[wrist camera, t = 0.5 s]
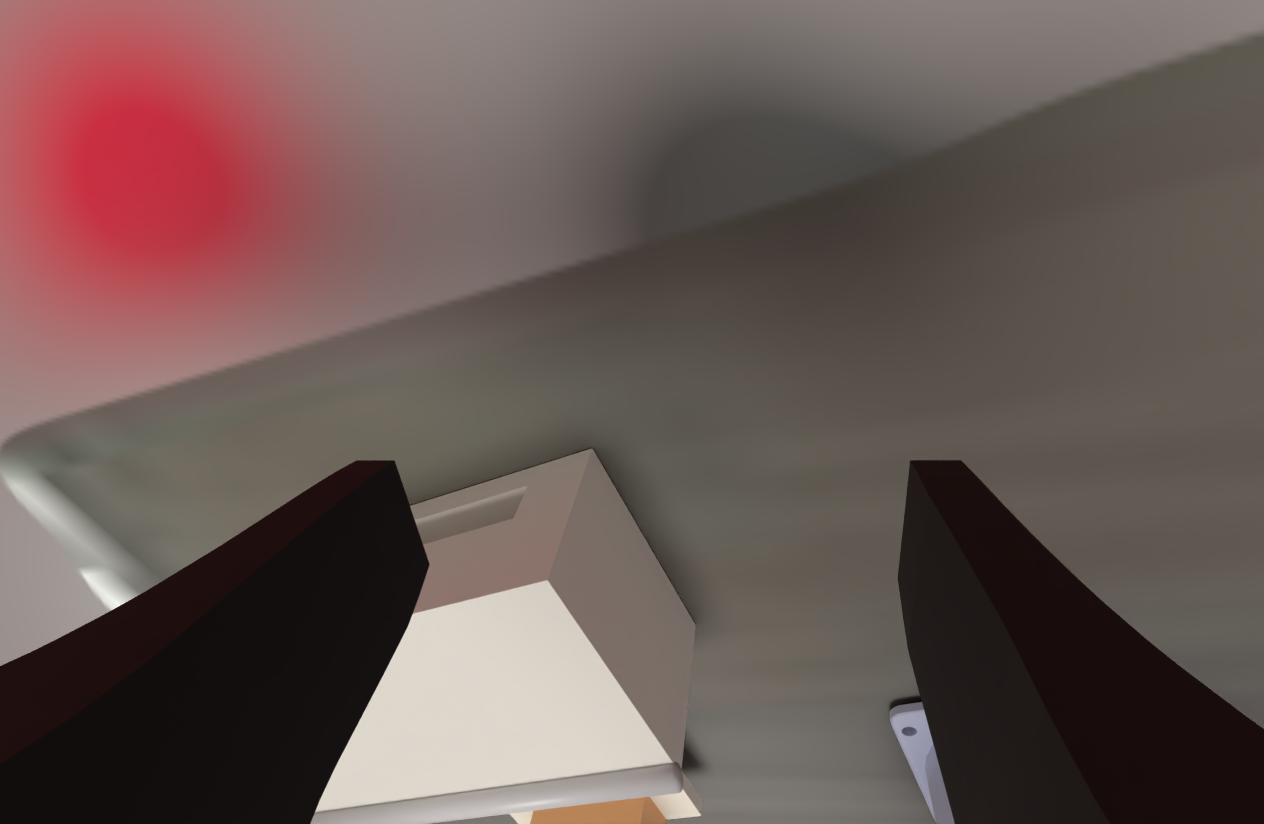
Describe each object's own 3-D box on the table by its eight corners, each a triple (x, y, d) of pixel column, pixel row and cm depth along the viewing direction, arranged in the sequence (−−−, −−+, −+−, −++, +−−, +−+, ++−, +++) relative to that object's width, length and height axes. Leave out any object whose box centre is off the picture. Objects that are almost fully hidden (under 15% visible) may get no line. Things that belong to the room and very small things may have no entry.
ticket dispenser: (697, 629, 26) (681, 798, 20) (388, 692, 30) (313, 842, 25) (592, 448, 22) (541, 598, 17) (260, 552, 27) (143, 694, 22)
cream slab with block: (702, 800, 29) (692, 948, 25) (531, 820, 32) (496, 956, 27) (529, 548, 23) (475, 685, 19) (337, 599, 26) (252, 729, 21)
